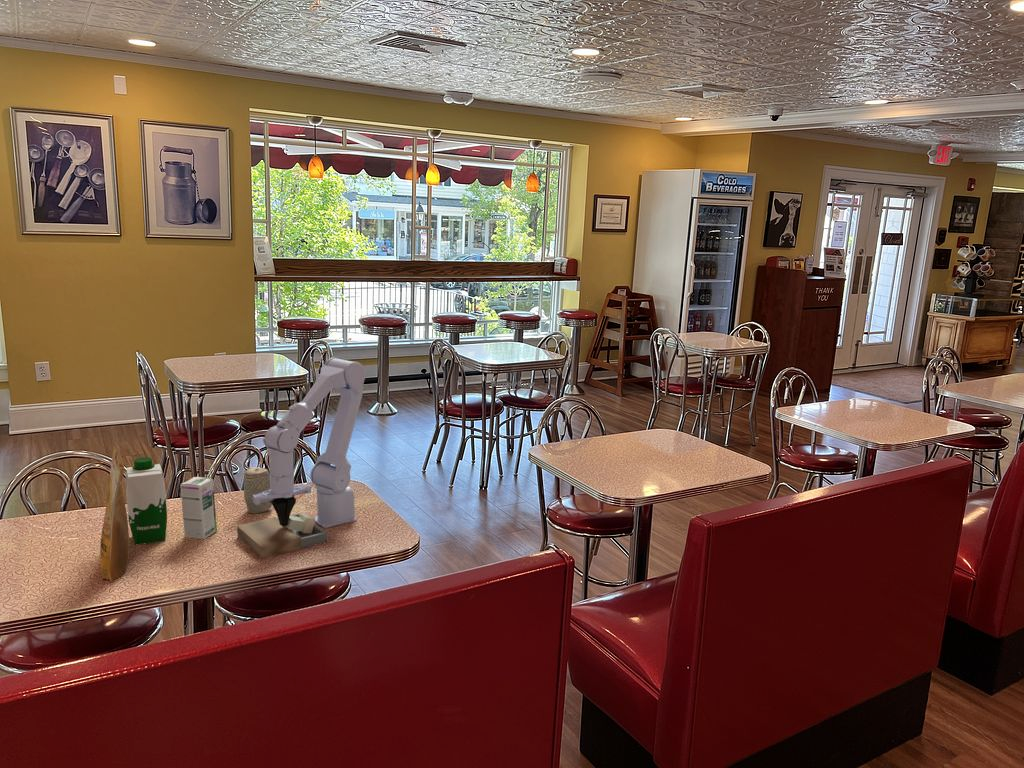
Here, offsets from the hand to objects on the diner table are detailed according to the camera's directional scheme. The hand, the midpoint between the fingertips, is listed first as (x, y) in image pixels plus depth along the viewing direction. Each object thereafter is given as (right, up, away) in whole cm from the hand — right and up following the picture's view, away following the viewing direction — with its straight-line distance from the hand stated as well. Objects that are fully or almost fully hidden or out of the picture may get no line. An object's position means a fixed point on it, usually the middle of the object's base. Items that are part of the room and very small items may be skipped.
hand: (283, 524), depth 196 cm
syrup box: (-22, -3, +2) cm, 22 cm away
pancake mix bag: (-33, -7, -17) cm, 38 cm away
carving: (-12, 0, +19) cm, 22 cm away
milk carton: (-34, -3, -1) cm, 34 cm away
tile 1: (+2, -1, +2) cm, 3 cm away
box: (+3, -3, +4) cm, 6 cm away
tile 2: (+4, 0, +3) cm, 5 cm away
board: (-3, -4, -2) cm, 6 cm away
